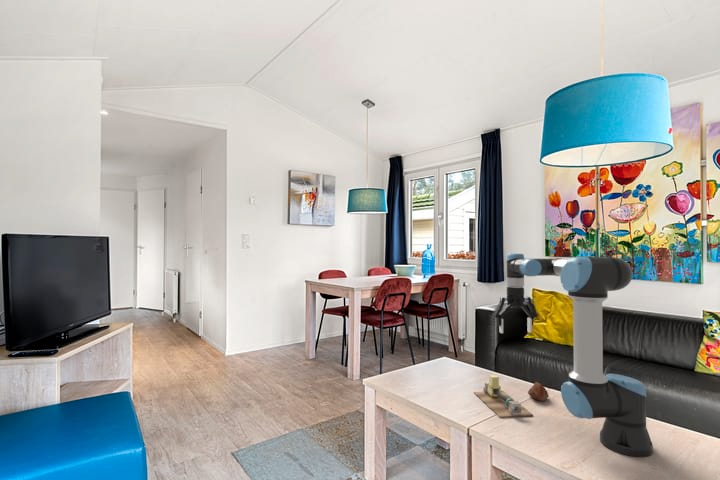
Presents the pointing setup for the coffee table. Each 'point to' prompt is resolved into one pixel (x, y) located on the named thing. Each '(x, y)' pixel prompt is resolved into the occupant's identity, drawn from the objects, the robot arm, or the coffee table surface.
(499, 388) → the yellow sliding block
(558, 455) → the coffee table surface
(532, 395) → the fossil
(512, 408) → the brown flat board
